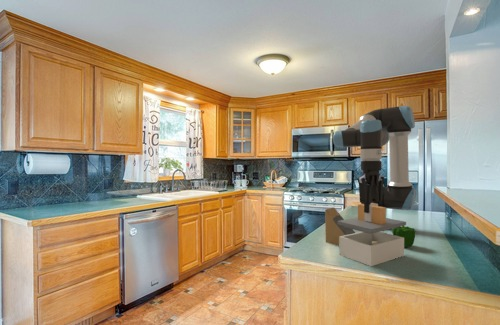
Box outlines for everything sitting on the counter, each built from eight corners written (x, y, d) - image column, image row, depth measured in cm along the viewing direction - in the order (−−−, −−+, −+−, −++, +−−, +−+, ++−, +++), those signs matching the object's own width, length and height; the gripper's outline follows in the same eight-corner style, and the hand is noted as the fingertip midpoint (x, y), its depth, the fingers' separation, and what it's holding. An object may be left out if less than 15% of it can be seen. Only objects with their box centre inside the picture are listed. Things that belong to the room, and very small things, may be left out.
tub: (371, 245, 116) (371, 229, 116) (404, 255, 104) (404, 237, 104) (339, 254, 106) (339, 236, 106) (371, 266, 94) (371, 246, 94)
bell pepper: (419, 248, 112) (419, 224, 112) (401, 249, 112) (400, 225, 111) (406, 242, 120) (406, 220, 120) (389, 243, 120) (388, 220, 120)
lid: (371, 220, 117) (371, 201, 117) (406, 227, 104) (406, 206, 104) (337, 226, 106) (337, 205, 106) (371, 235, 93) (371, 211, 93)
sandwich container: (359, 249, 112) (359, 213, 112) (325, 242, 122) (324, 209, 122) (366, 245, 118) (366, 210, 118) (333, 238, 128) (333, 206, 128)
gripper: (366, 160, 97) (366, 225, 98) (392, 160, 105) (392, 219, 106) (348, 160, 104) (349, 221, 104) (375, 160, 112) (375, 216, 112)
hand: (371, 220), depth 105 cm, fingers closed on lid, 3 cm apart
